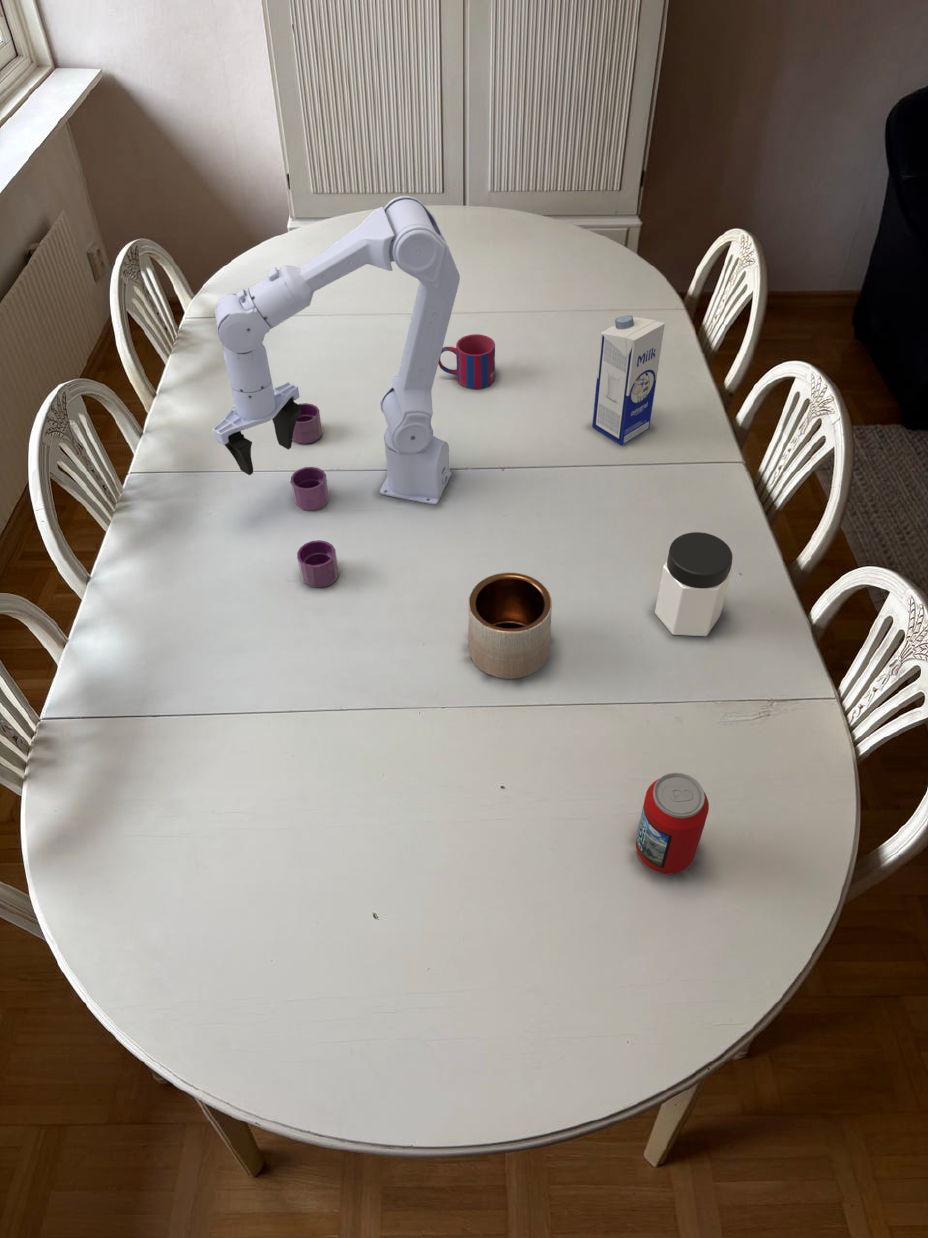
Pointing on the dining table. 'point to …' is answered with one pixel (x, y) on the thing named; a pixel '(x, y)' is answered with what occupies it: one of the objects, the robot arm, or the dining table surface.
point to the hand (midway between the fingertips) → (266, 458)
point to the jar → (694, 584)
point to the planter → (509, 625)
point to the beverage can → (671, 823)
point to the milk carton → (627, 377)
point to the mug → (473, 361)
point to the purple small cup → (318, 563)
